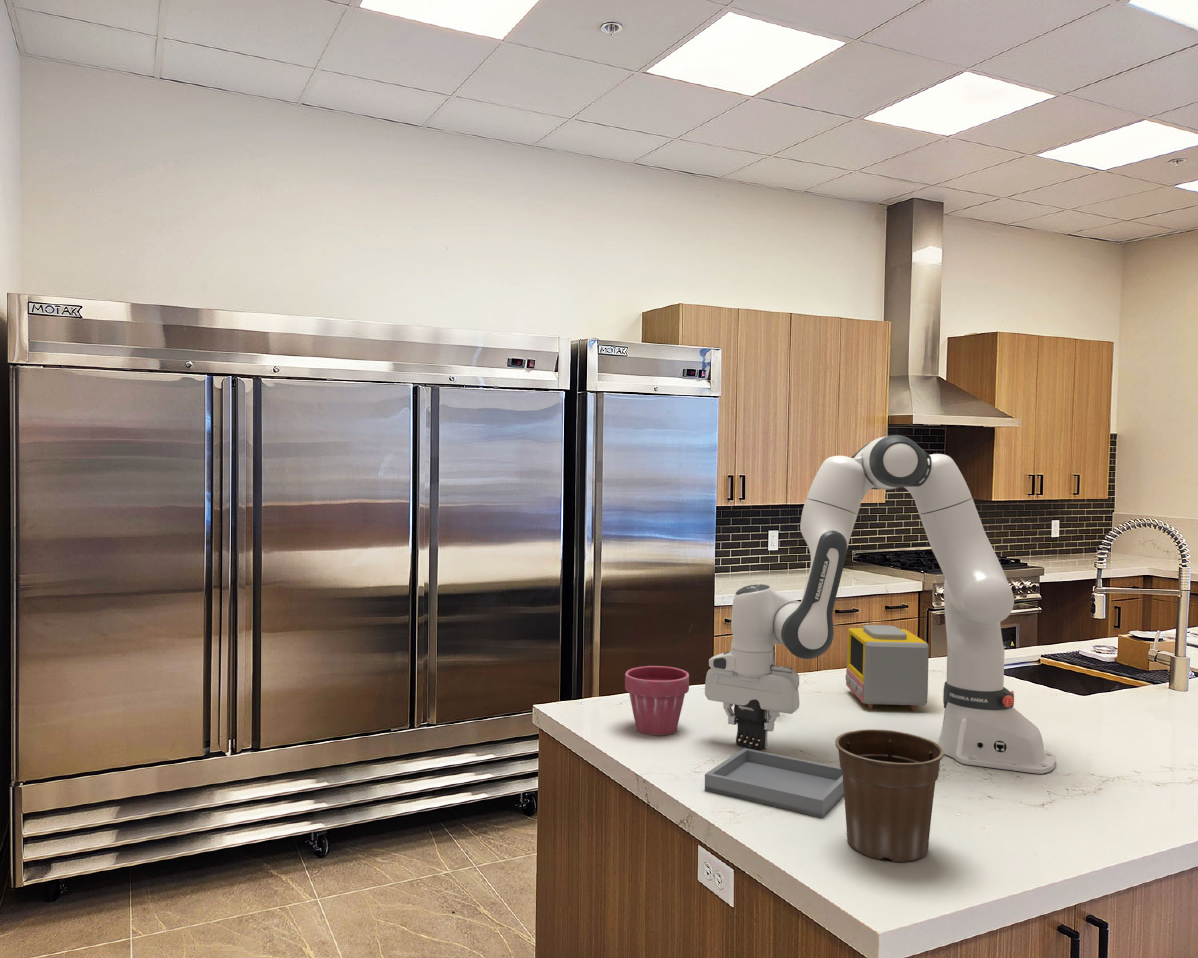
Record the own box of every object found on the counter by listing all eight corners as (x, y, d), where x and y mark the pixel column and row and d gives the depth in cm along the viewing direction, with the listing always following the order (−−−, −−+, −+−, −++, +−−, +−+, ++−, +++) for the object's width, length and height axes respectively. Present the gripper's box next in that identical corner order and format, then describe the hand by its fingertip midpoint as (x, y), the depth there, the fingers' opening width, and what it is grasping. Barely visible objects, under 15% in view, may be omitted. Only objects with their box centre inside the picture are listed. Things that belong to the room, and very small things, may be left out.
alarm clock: (843, 690, 235) (844, 621, 235) (904, 692, 234) (905, 622, 234) (862, 712, 215) (864, 636, 215) (928, 713, 215) (930, 637, 214)
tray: (853, 785, 166) (854, 769, 166) (822, 817, 151) (822, 800, 151) (744, 762, 178) (744, 747, 178) (704, 790, 163) (704, 773, 162)
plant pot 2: (898, 880, 129) (901, 769, 128) (811, 840, 142) (813, 740, 141) (962, 852, 138) (965, 749, 138) (875, 817, 151) (877, 723, 151)
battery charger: (730, 744, 189) (731, 691, 188) (740, 740, 192) (741, 688, 191) (759, 752, 184) (760, 697, 184) (768, 748, 187) (770, 694, 187)
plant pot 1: (616, 735, 194) (617, 676, 194) (633, 717, 208) (634, 663, 207) (681, 742, 190) (682, 682, 190) (693, 724, 203) (694, 668, 203)
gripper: (804, 665, 184) (803, 732, 185) (714, 653, 195) (713, 715, 196) (793, 671, 179) (792, 739, 179) (702, 658, 190) (701, 722, 190)
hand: (750, 727), depth 188 cm, fingers closed on battery charger, 7 cm apart
